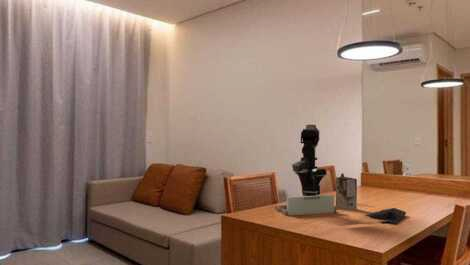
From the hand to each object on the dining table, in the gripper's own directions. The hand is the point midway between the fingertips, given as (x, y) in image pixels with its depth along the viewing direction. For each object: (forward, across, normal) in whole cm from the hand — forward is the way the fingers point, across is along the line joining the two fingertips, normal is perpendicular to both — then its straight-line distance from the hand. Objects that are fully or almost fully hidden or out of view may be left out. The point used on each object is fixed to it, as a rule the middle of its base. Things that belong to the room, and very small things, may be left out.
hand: (308, 188), depth 165 cm
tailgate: (+11, +5, -2) cm, 12 cm away
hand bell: (+13, -16, +35) cm, 40 cm away
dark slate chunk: (+13, +20, +28) cm, 37 cm away
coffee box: (+12, +1, +22) cm, 26 cm away
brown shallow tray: (+12, -1, -2) cm, 12 cm away
